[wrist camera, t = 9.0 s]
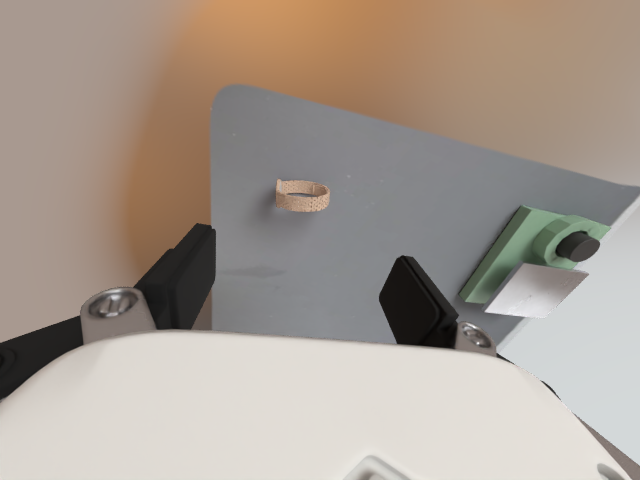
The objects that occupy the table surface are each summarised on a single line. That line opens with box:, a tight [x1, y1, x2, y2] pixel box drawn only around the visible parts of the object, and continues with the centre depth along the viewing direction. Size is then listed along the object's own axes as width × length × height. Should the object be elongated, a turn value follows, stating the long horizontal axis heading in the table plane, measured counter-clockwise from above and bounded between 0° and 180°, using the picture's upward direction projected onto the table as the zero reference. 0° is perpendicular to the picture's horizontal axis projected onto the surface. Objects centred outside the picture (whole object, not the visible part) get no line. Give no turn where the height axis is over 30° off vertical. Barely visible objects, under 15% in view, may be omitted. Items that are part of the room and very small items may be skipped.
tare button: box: [555, 232, 600, 262], centre depth 25 cm, size 3×3×2 cm
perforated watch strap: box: [276, 179, 330, 212], centre depth 21 cm, size 3×5×5 cm, turn 84°
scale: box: [459, 206, 611, 304], centre depth 29 cm, size 14×12×3 cm
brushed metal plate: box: [481, 260, 589, 319], centre depth 29 cm, size 8×10×1 cm
